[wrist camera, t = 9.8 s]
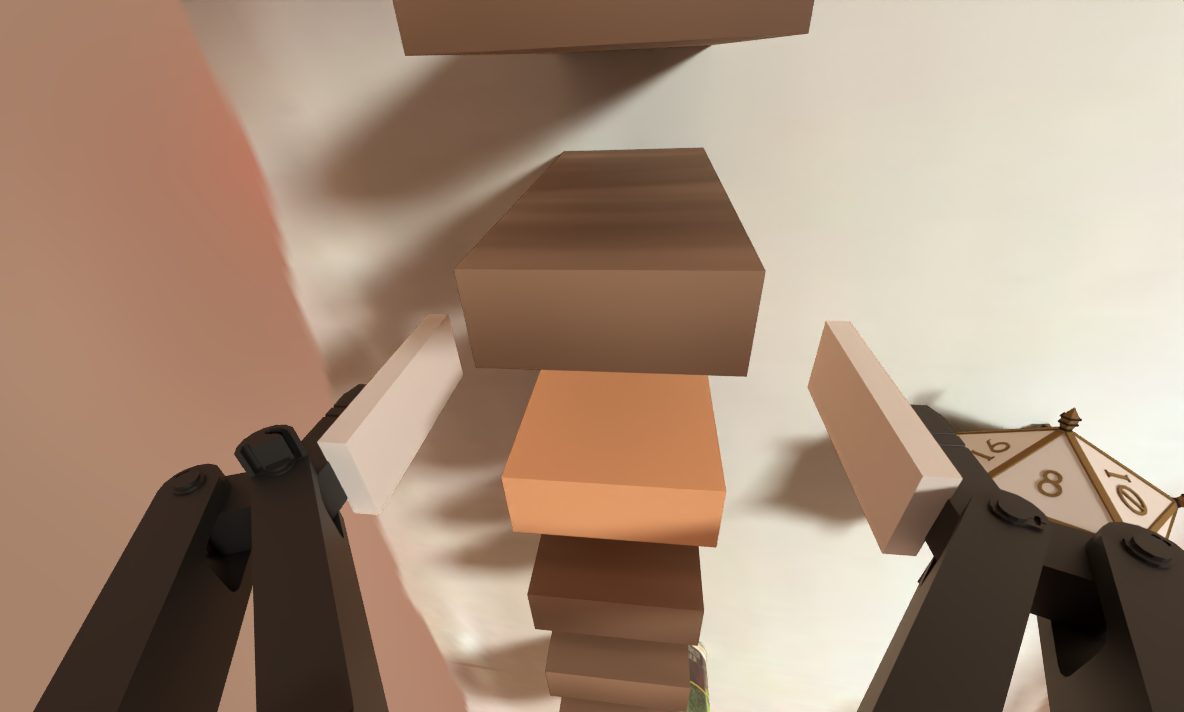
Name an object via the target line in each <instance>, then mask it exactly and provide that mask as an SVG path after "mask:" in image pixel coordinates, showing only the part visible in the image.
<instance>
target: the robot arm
mask: <svg viewBox="0 0 1184 712" xmlns="http://www.w3.org/2000/svg"><path fill="white" fill-rule="evenodd" d="M462 376H463V372H462V368H461V364H460V360H459V356H458V352H457V348H456V344H455V340H454V336H453V332H452V328H451V324H450V320H449V316H448V314H428V315H427V316H426V317H425V318H424V319H423V320H422V322H421V323H420V324H419V325H418V326H417V327H416V328H415V330H414V331H413V332H412V333H411V334H410V335H409V337H408V338H407V339H406V340H405V341H404V342H403V343H402V345H401V346H400V347H399V348H398V349H397V350H396V352H395V353H394V354H393V355H392V356H391V357H390V358H389V360H388V361H387V362H386V363H385V364H384V365H383V367H382V368H381V369H380V370H379V371H378V372H377V373H376V375H375V376H374V377H373V378H372V379H371V380H370V382H369V383H368V384H367V385H364V384H359V385H357V386H356V387H354V388H353V389H351V390H350V391H348V392H347V393H345V394H344V395H343V396H342V397H341V398H340V399H339V400H338V401H337V402H336V404H335V405H334V408H331V409H330V410H329V411H328V412H327V413H326V416H325V417H323V418H322V419H321V420H320V421H319V422H318V423H317V424H316V426H315V427H314V428H313V429H312V430H311V431H310V432H309V433H308V435H306V437H305V438H304V439H303V440H302V441H300V439H299V437H298V435H297V433H296V432H295V430H294V429H293V427H291V426H288V425H274V426H271V427H267V428H263V429H261V430H259V431H257V432H255V433H253V434H251V435H250V436H248V437H247V438H245V439H244V440H243V441H242V442H241V443H240V444H239V445H238V447H237V448H236V451H235V453H234V454H235V456H236V458H237V459H238V461H239V462H240V464H241V465H242V467H243V468H244V469H245V471H246V472H245V473H240V474H235V475H229V476H225V475H224V474H223V473H222V471H221V470H220V469H219V467H218V466H217V465H213V464H203V465H197V466H194V467H191V468H188V469H186V470H183V471H182V472H179V473H178V474H176V475H174V476H173V477H172V478H170V479H169V480H168V481H167V482H165V483H164V484H163V486H162V487H161V488H160V489H159V490H158V492H157V493H156V495H155V497H154V499H153V500H152V502H151V504H150V506H149V508H148V510H147V511H146V513H145V515H144V517H143V518H142V520H141V522H140V524H139V525H138V527H137V529H136V531H135V532H134V534H133V536H132V538H131V539H130V541H129V543H128V545H127V547H126V548H125V550H124V552H123V554H122V556H121V557H120V559H119V561H118V562H117V565H116V566H115V568H114V570H113V571H112V573H111V575H110V577H109V578H108V580H107V582H106V584H105V585H104V587H103V589H102V591H101V593H100V594H99V596H98V598H97V600H96V601H95V604H94V605H93V607H92V609H91V610H90V612H89V614H88V616H87V617H86V619H85V621H84V623H83V624H82V627H81V628H80V630H79V632H78V633H77V635H76V637H75V639H74V640H73V642H72V644H71V646H70V647H69V649H68V651H67V653H66V655H65V657H64V658H63V660H62V662H61V663H60V665H59V667H58V669H57V671H56V672H55V674H54V676H53V678H52V680H51V681H50V683H49V685H48V686H47V688H46V690H45V692H44V694H43V695H42V697H41V699H40V701H39V702H38V704H37V706H36V708H35V710H34V711H33V712H217V711H218V707H219V703H220V700H221V697H222V693H223V689H224V686H225V682H226V679H227V675H228V672H229V668H230V665H231V661H232V657H233V654H234V650H235V647H236V643H237V640H238V636H239V632H240V629H241V625H242V622H243V618H244V614H245V611H246V607H247V604H248V600H249V596H250V593H251V590H252V586H253V602H254V637H255V670H256V671H255V672H256V673H255V674H256V709H257V712H389V711H388V707H387V702H386V698H385V694H384V690H383V685H382V682H381V677H380V673H379V668H378V664H377V660H376V656H375V652H374V647H373V643H372V638H371V634H370V630H369V626H368V621H367V617H366V613H365V609H364V604H363V600H362V596H361V592H360V587H359V583H358V579H357V574H356V570H355V566H354V562H353V557H352V553H351V549H350V545H349V540H348V536H347V532H346V528H345V523H344V519H343V517H342V515H341V513H340V511H339V510H340V509H341V507H342V506H343V505H344V503H345V502H346V500H348V502H349V503H350V506H351V507H352V509H353V511H354V513H362V514H374V515H380V514H381V512H382V510H383V509H384V507H385V505H386V504H387V502H388V500H389V499H390V497H391V495H392V494H393V492H394V490H395V489H396V487H397V485H398V484H399V482H400V480H401V479H402V477H403V475H404V473H405V472H406V470H407V468H408V467H409V465H410V463H411V462H412V460H413V458H414V457H415V455H416V453H417V452H418V450H419V448H420V447H421V445H422V443H423V442H424V440H425V438H426V437H427V435H428V433H429V432H430V430H431V428H432V426H433V425H434V423H435V421H436V420H437V418H438V416H439V415H440V413H441V411H442V410H443V408H444V406H445V405H446V403H447V401H448V400H449V398H450V396H451V395H452V393H453V391H454V390H455V388H456V386H457V385H458V383H459V381H460V380H461V378H462ZM808 389H809V392H810V394H811V396H812V398H813V400H814V403H815V405H816V407H817V409H818V412H819V414H820V416H821V418H822V420H823V423H824V425H825V427H826V429H827V432H828V434H829V436H830V438H831V440H832V443H833V445H834V447H835V449H836V452H837V454H838V456H839V458H840V461H841V463H842V465H843V467H844V469H845V472H846V474H847V476H848V478H849V481H850V483H851V485H852V487H853V489H854V492H855V494H856V496H857V498H858V501H859V503H860V505H861V507H862V510H863V512H864V514H865V516H866V518H867V521H868V523H869V525H870V527H871V530H872V532H873V534H874V536H875V538H876V541H877V543H878V545H879V547H880V550H881V552H882V553H883V554H896V555H909V556H916V555H917V554H918V552H919V550H920V549H921V547H922V545H923V544H924V542H925V541H926V543H927V544H928V546H929V548H930V550H931V552H932V554H933V555H934V557H933V558H932V560H931V562H930V563H929V565H928V566H927V568H926V569H925V571H924V573H923V574H922V576H921V577H920V579H919V580H918V583H919V585H918V587H917V590H916V592H915V594H914V596H913V598H912V600H911V602H910V604H909V606H908V608H907V610H906V612H905V614H904V616H903V618H902V620H901V622H900V624H899V626H898V628H897V630H896V632H895V635H894V637H893V639H892V641H891V643H890V645H889V647H888V649H887V651H886V653H885V655H884V657H883V659H882V661H881V663H880V665H879V667H878V669H877V671H876V673H875V675H874V678H873V680H872V682H871V684H870V686H869V688H868V690H867V692H866V694H865V696H864V698H863V700H862V702H861V704H860V706H859V708H858V710H857V712H1002V711H1003V707H1004V704H1005V700H1006V697H1007V693H1008V689H1009V686H1010V682H1011V679H1012V675H1013V671H1014V668H1015V664H1016V661H1017V657H1018V653H1019V650H1020V646H1021V643H1022V639H1023V635H1024V632H1025V628H1026V625H1027V621H1028V617H1029V614H1030V613H1031V614H1034V615H1037V621H1038V628H1039V635H1040V642H1041V649H1042V656H1043V663H1044V671H1045V678H1046V685H1047V692H1048V699H1049V706H1050V712H1184V550H1182V549H1181V548H1180V547H1179V546H1178V545H1176V544H1175V543H1173V542H1172V541H1170V540H1168V539H1167V538H1165V537H1163V536H1161V535H1160V534H1158V533H1156V532H1153V531H1151V530H1149V529H1146V528H1144V527H1141V526H1139V525H1134V524H1130V523H1125V522H1109V523H1107V524H1106V525H1104V526H1102V527H1101V528H1100V529H1099V530H1098V531H1097V533H1096V534H1093V533H1089V532H1086V531H1082V530H1079V529H1075V528H1072V527H1068V526H1064V525H1061V524H1057V523H1054V522H1051V521H1049V520H1048V518H1047V517H1046V515H1045V514H1044V513H1043V512H1042V511H1041V510H1040V509H1039V508H1037V507H1036V506H1035V505H1034V504H1033V503H1031V502H1029V501H1028V500H1026V499H1024V498H1022V497H1021V496H1019V495H1017V494H1014V493H1011V492H1008V491H1005V490H1001V489H1000V488H999V487H998V485H997V484H996V483H995V482H994V480H993V479H992V478H991V476H990V475H989V474H988V473H987V471H986V470H985V469H984V468H983V466H982V465H981V464H980V462H979V461H978V460H977V459H976V457H975V456H974V455H973V454H972V452H971V451H970V450H969V448H966V447H965V443H964V442H963V441H962V439H961V438H960V437H959V436H956V432H955V431H954V429H953V428H952V427H951V425H950V424H949V423H948V422H947V420H946V419H945V418H944V417H942V416H941V415H940V414H938V413H937V412H935V411H934V410H933V409H931V408H930V407H928V406H927V405H910V404H909V403H908V401H907V400H906V398H905V397H904V396H903V394H902V393H901V392H900V390H899V389H898V387H897V386H896V385H895V383H894V382H893V380H892V379H891V378H890V376H889V375H888V373H887V372H886V371H885V369H884V368H883V366H882V365H881V364H880V362H879V361H878V359H877V358H876V357H875V355H874V354H873V352H872V351H871V350H870V348H869V347H868V345H867V344H866V343H865V341H864V340H863V338H862V337H861V336H860V334H859V333H858V331H857V330H856V329H855V327H854V326H853V324H852V323H851V322H847V321H826V322H825V326H824V330H823V333H822V337H821V340H820V344H819V348H818V351H817V355H816V358H815V362H814V366H813V369H812V373H811V376H810V380H809V384H808Z"/></svg>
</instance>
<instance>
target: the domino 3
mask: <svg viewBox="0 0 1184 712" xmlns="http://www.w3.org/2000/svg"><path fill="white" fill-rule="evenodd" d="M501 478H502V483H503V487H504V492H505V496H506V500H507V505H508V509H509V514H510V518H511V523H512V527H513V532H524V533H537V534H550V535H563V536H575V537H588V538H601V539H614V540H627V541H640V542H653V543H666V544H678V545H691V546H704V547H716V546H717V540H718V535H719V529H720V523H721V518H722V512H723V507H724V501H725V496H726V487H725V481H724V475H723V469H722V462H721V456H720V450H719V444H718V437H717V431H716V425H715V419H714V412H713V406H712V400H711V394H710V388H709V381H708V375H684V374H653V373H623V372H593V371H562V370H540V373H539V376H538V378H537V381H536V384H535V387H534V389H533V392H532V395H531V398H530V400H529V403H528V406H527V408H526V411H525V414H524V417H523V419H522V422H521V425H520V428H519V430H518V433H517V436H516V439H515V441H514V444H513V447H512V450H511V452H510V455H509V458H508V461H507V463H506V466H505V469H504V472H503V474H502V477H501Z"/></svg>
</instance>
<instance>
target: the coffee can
mask: <svg viewBox="0 0 1184 712" xmlns="http://www.w3.org/2000/svg"><path fill="white" fill-rule="evenodd" d="M688 652H689V670H690V694H689V699H688V705H687V710H686V712H710V706H709V694H708V683H707V670H706V661H707V657H706V652H705V650H704V648H703V646H702V645H701V644H700V643H699V642H698V646H694V645H688ZM680 712H683V711H680Z"/></svg>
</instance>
